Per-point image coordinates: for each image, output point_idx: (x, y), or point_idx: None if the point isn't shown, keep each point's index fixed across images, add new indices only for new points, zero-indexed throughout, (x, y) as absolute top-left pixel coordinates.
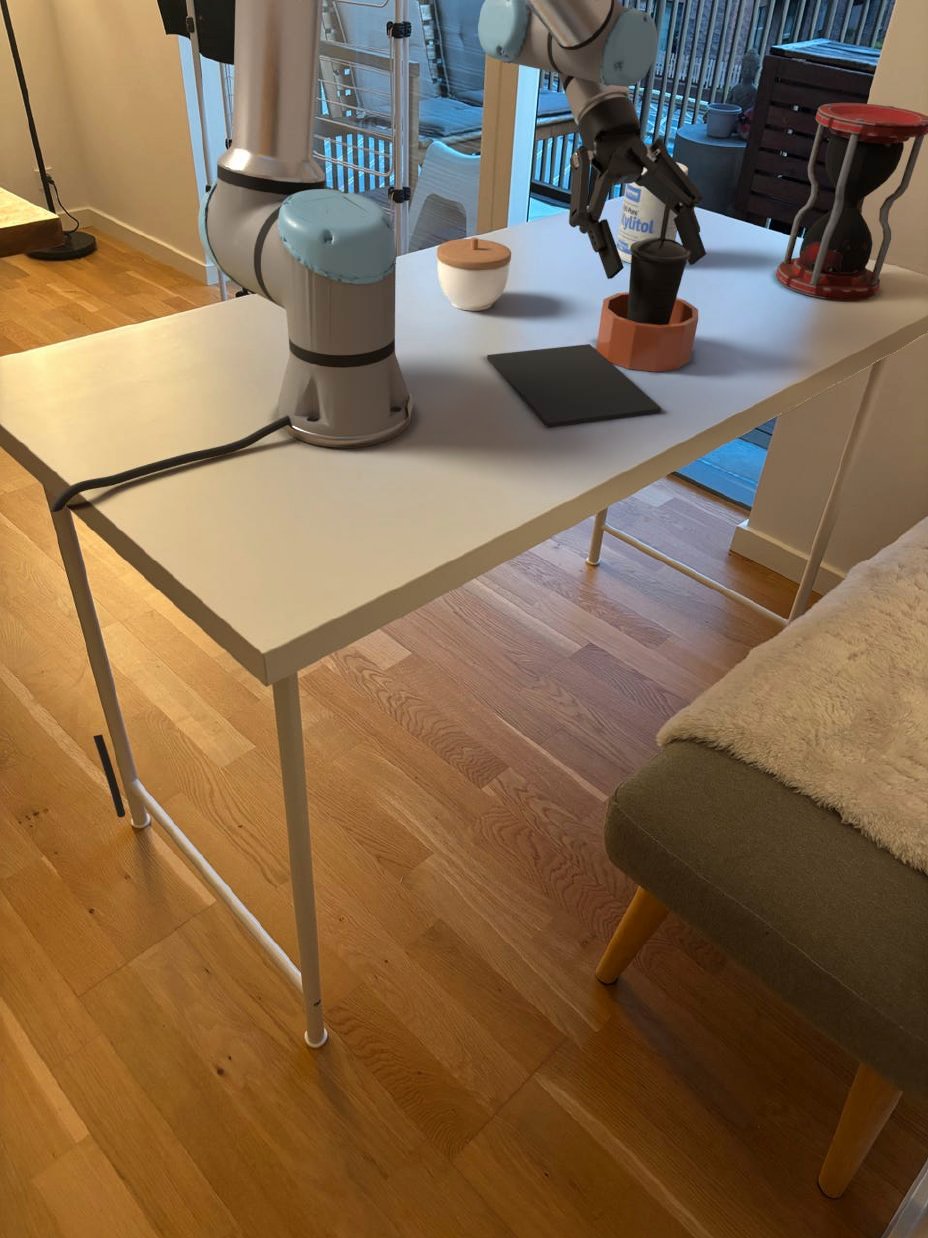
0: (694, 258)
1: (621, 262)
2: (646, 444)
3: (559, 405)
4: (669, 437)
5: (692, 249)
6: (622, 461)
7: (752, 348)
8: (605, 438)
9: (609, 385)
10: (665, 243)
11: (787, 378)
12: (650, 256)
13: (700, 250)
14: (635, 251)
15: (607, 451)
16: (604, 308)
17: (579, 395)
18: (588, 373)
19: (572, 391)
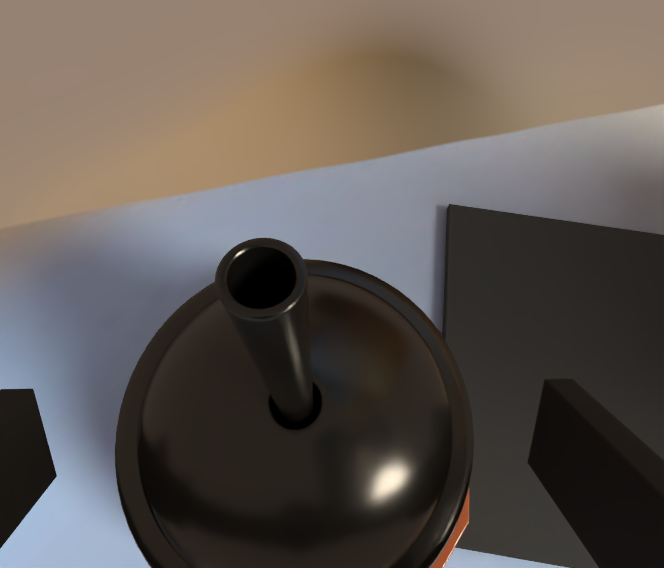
0: (41, 444)
1: (562, 395)
2: (521, 149)
3: (634, 278)
4: (476, 151)
5: (4, 475)
6: (576, 131)
7: (41, 355)
8: (577, 182)
9: (501, 308)
10: (315, 344)
11: (125, 217)
12: (432, 325)
13: (17, 403)
14: (469, 431)
15: (588, 156)
16: (462, 511)
17: (581, 296)
18: (522, 376)
19: (590, 316)
